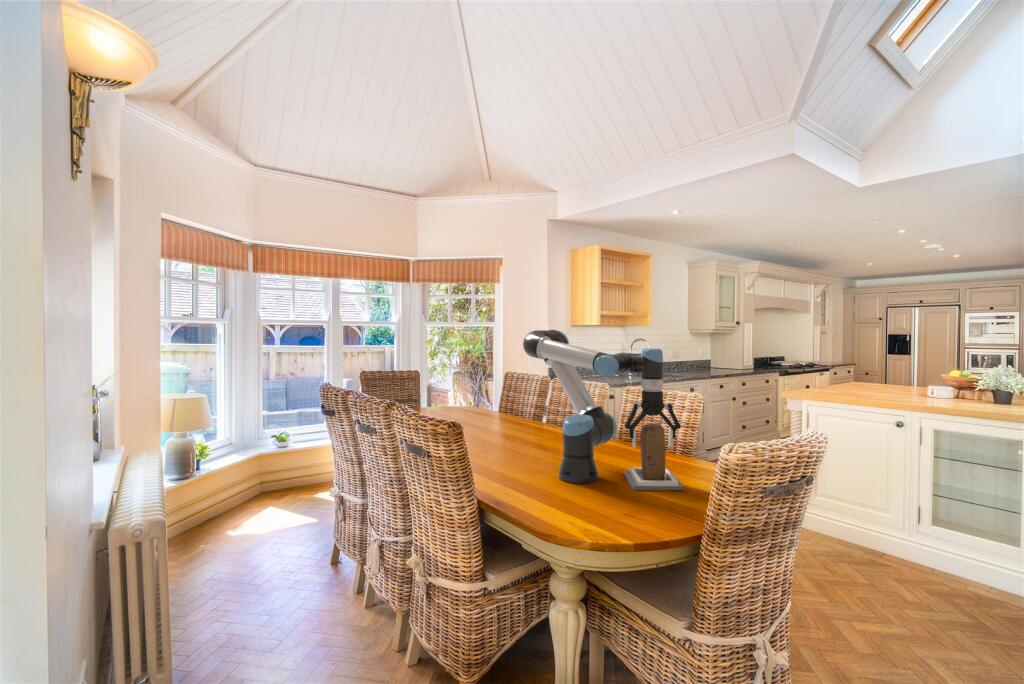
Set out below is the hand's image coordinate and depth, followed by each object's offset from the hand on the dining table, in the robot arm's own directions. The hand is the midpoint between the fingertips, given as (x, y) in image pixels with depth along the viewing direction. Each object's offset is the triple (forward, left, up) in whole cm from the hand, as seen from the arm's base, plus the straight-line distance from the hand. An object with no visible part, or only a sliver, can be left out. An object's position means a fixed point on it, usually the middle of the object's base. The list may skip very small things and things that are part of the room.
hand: (652, 447), depth 174 cm
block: (0, 0, -12) cm, 12 cm away
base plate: (0, 0, -13) cm, 13 cm away
